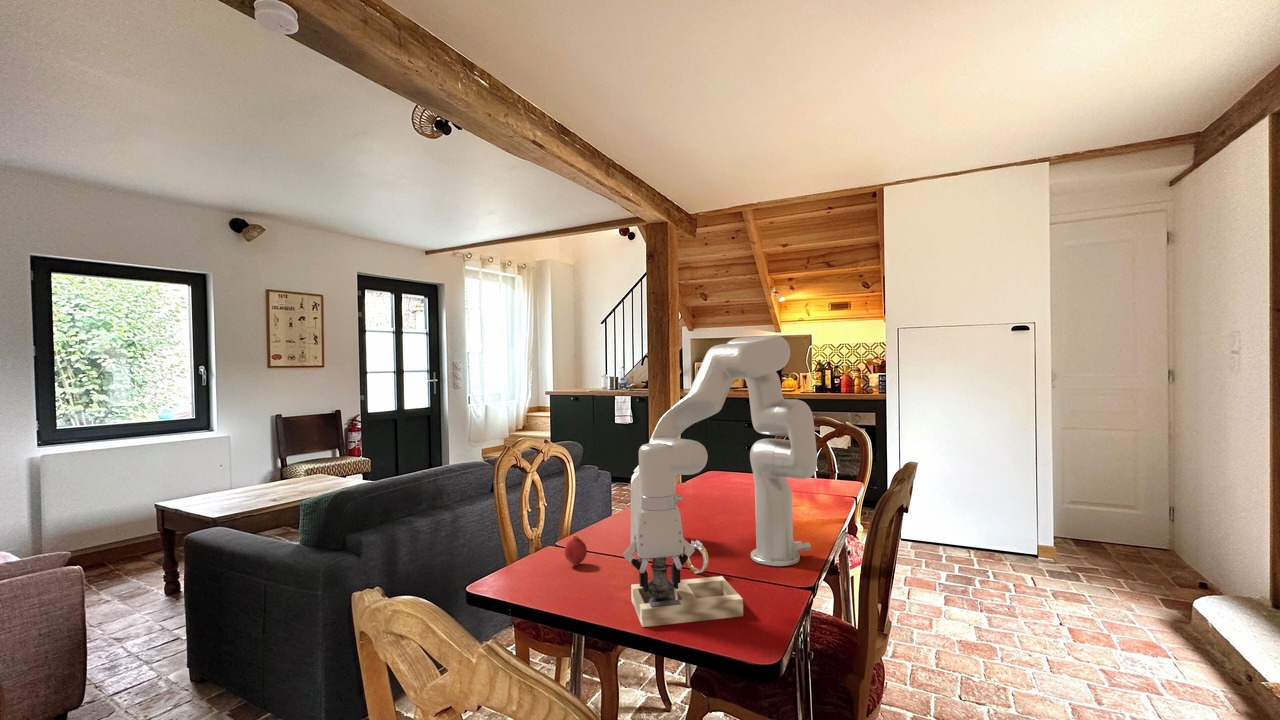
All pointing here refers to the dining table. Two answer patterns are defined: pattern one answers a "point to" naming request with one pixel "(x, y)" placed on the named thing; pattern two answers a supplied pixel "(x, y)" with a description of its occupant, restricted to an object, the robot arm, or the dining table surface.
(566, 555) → the onion
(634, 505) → the milk
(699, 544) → the gemstone ring
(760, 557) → the robot arm
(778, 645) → the dining table surface
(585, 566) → the dining table surface
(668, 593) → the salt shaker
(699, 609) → the wooden compartment tray
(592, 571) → the dining table surface
